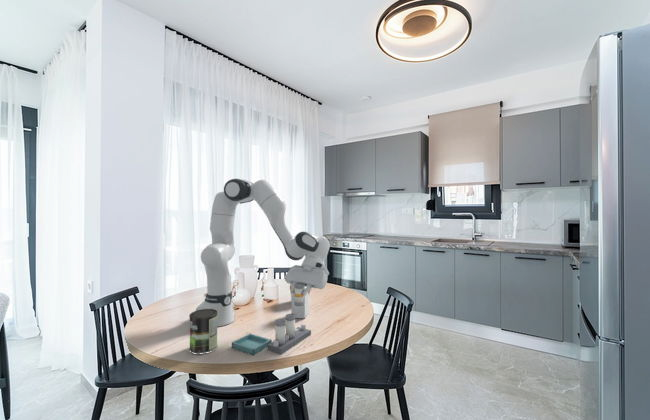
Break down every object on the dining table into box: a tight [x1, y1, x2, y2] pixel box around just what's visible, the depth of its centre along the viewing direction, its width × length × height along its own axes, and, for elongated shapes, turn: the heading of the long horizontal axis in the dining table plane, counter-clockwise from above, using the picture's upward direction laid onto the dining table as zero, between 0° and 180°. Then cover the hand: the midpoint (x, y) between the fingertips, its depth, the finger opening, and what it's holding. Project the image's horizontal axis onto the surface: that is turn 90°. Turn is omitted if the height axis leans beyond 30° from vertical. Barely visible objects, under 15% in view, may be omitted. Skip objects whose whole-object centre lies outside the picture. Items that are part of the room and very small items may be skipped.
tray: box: [231, 333, 273, 356], centre depth 117 cm, size 12×10×2 cm
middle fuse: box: [285, 313, 296, 339], centre depth 121 cm, size 4×4×9 cm
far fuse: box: [274, 318, 286, 346], centre depth 115 cm, size 4×4×9 cm
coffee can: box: [189, 309, 218, 354], centre depth 115 cm, size 10×10×14 cm
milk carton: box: [290, 284, 309, 319], centre depth 150 cm, size 7×7×19 cm
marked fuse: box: [294, 283, 304, 306], centre depth 126 cm, size 4×4×9 cm
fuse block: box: [267, 323, 312, 355], centre depth 121 cm, size 7×20×4 cm, turn 149°
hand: (298, 293), depth 125 cm, fingers closed on marked fuse, 4 cm apart
